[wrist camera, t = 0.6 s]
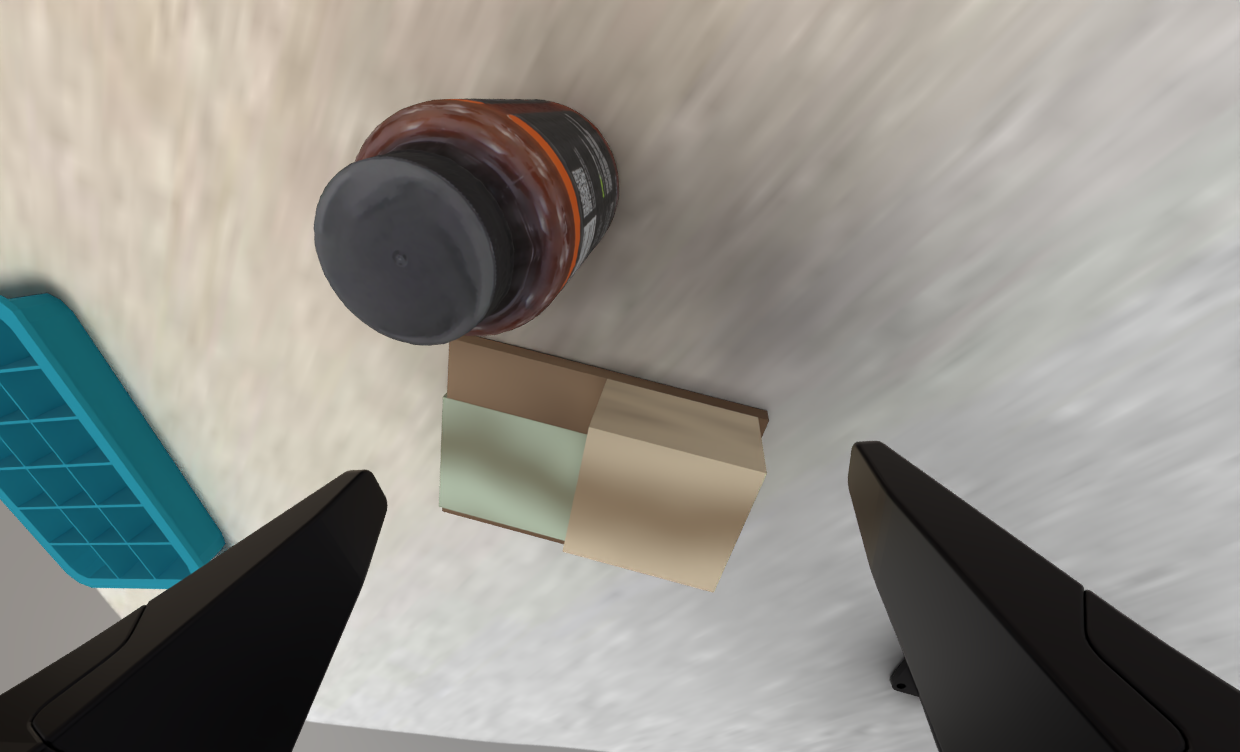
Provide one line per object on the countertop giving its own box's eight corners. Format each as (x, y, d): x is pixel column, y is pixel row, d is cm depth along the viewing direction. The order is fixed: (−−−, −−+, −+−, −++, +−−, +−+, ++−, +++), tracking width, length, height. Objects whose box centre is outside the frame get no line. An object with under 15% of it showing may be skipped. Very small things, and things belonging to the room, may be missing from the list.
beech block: (713, 527, 26) (713, 592, 23) (581, 492, 26) (562, 551, 23) (758, 417, 23) (766, 473, 19) (607, 378, 23) (588, 426, 20)
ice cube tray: (66, 270, 26) (-5, 288, 24) (251, 554, 35) (215, 589, 33) (-87, 294, 29) (-166, 313, 26) (122, 554, 38) (79, 587, 35)
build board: (701, 569, 29) (701, 581, 28) (445, 500, 29) (438, 510, 29) (767, 411, 23) (768, 420, 23) (453, 330, 24) (445, 337, 23)
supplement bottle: (449, 181, 21) (215, 246, 11) (543, 61, 18) (347, 4, 8) (554, 286, 22) (430, 428, 12) (654, 188, 20) (598, 269, 10)
